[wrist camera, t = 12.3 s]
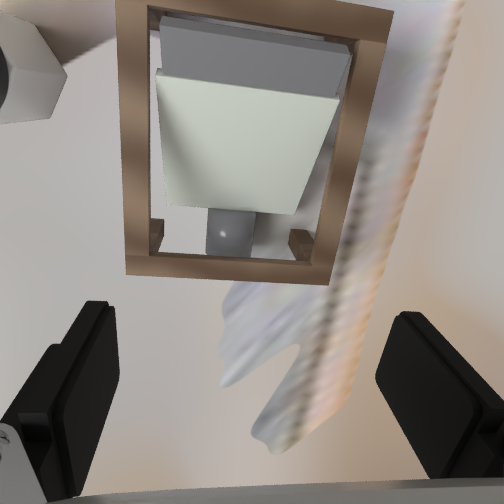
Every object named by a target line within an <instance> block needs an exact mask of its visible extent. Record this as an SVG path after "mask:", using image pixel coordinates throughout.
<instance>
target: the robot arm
mask: <svg viewBox="0 0 504 504" xmlns="http://www.w3.org/2000/svg"><path fill="white" fill-rule="evenodd" d="M119 374H120V369H119V356H118V343H117V330H116V317H115V308H114V306H109V304H108V302H107V301H87V302H86V303H85V305H84V306H83V308H82V309H81V311H80V313H79V314H78V316H77V318H76V319H75V321H74V323H73V324H72V326H71V327H70V329H69V331H68V332H67V334H66V335H65V337H64V339H63V340H62V342H61V344H52V345H50V346H49V347H48V349H47V350H46V351H45V353H44V355H43V356H42V358H41V359H40V361H39V362H38V364H37V365H36V367H35V368H34V370H33V371H32V373H31V374H30V376H29V378H28V379H27V380H26V382H25V384H24V385H23V387H22V388H21V390H20V391H19V393H18V394H17V396H16V397H15V399H14V400H13V402H12V403H11V405H10V406H9V408H8V409H7V411H6V413H5V414H4V416H3V417H2V419H1V420H0V504H504V400H503V399H501V397H500V396H499V395H498V394H497V393H496V392H495V391H494V390H493V389H492V388H491V387H490V386H489V384H488V383H487V382H486V381H485V380H484V379H483V378H482V377H481V376H480V375H479V374H478V373H477V372H476V371H475V370H474V368H473V367H471V365H470V364H469V363H468V362H467V361H466V360H465V359H464V358H463V357H462V356H461V355H460V354H459V352H458V351H456V349H455V348H454V347H453V346H452V345H451V344H450V343H449V342H448V341H447V340H446V339H445V338H444V337H443V335H442V334H441V333H440V332H439V331H438V330H437V329H436V328H435V327H434V326H433V325H432V324H431V323H430V322H429V321H428V319H427V318H426V317H425V316H424V315H423V314H422V313H420V312H411V311H410V312H409V311H403V312H401V313H400V314H399V315H398V316H396V317H395V319H394V322H393V324H392V327H391V330H390V334H389V336H388V339H387V342H386V345H385V347H384V350H383V353H382V356H381V359H380V362H379V365H378V368H377V371H376V374H375V379H376V383H377V385H378V387H379V389H380V391H381V392H382V394H383V396H384V398H385V400H386V401H387V403H388V405H389V407H390V408H391V410H392V412H393V414H394V416H395V417H396V419H397V421H398V423H399V425H400V427H401V428H402V430H403V432H404V434H405V435H406V437H407V439H408V441H409V443H410V444H411V446H412V448H413V450H414V451H415V453H416V455H417V457H418V459H419V460H420V463H421V464H422V466H423V468H424V469H425V472H426V473H427V475H428V477H429V478H430V479H422V480H421V479H420V480H392V481H391V480H390V481H365V482H364V481H363V482H336V483H313V484H312V483H311V484H287V485H263V486H241V487H219V488H198V489H175V490H160V491H144V492H129V493H114V494H102V495H94V496H85V497H76V496H80V494H81V492H82V490H83V487H84V484H85V481H86V478H87V475H88V472H89V469H90V466H91V463H92V460H93V457H94V454H95V451H96V448H97V445H98V442H99V439H100V436H101V433H102V430H103V427H104V424H105V421H106V418H107V415H108V412H109V409H110V406H111V403H112V400H113V397H114V394H115V391H116V388H117V385H118V382H119ZM73 497H76V498H73Z"/></svg>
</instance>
